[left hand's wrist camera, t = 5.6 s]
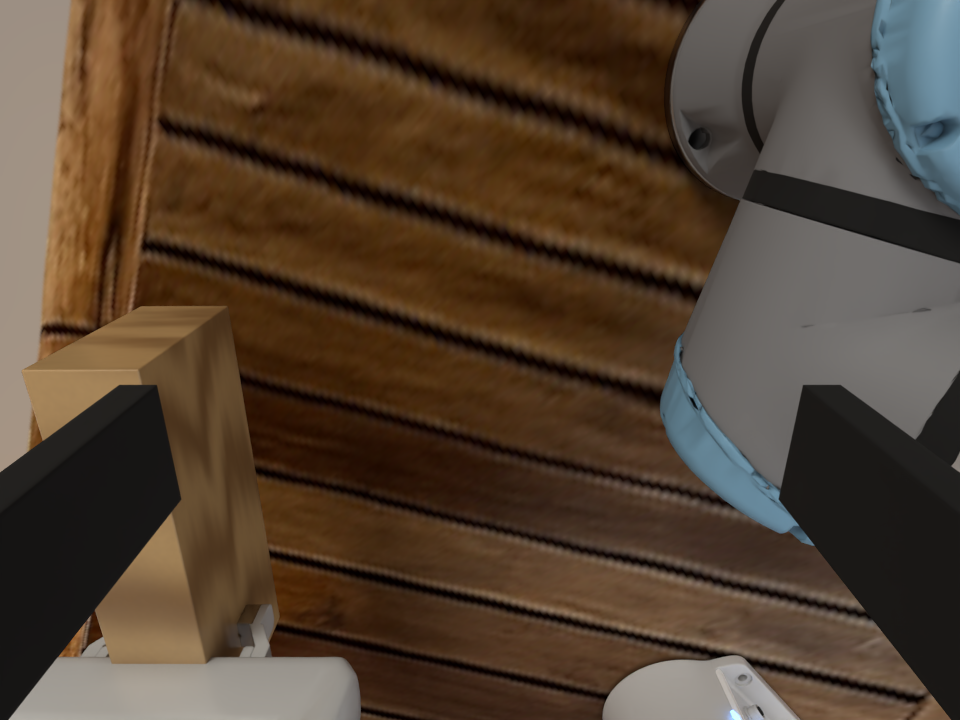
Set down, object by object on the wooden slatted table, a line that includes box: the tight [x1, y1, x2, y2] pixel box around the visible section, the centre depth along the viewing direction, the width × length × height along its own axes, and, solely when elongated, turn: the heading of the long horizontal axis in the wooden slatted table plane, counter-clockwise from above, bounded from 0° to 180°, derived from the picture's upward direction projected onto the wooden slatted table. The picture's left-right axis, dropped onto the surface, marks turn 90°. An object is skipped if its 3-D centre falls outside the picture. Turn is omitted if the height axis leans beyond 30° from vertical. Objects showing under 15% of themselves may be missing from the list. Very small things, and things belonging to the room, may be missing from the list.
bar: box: [22, 306, 280, 664], centre depth 33 cm, size 22×5×9 cm, turn 1°
